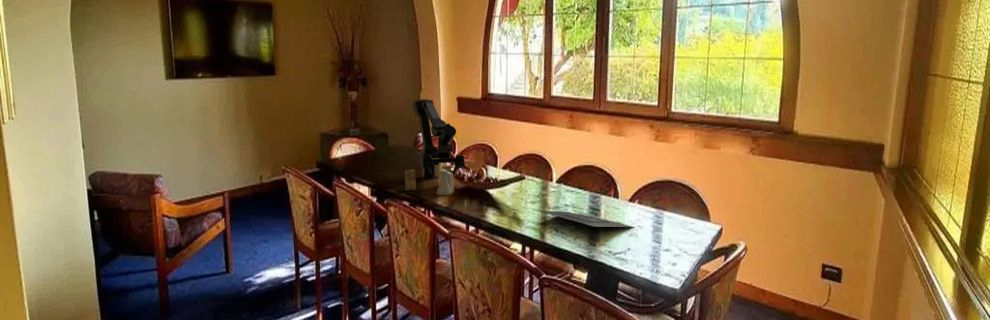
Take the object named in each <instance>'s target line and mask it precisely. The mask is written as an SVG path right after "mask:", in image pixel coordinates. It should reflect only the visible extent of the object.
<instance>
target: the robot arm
mask: <svg viewBox="0 0 990 320" xmlns="http://www.w3.org/2000/svg"><path fill="white" fill-rule="evenodd" d="M412 109H413V111H414V115H415V116H416V117H418V120H419V126H420V133H421V139H422V146H423V147H422V150H421V153H420V154H421V155H420V158H419V159H418V163H419V166H420V167H423V169H422V170H423V175H421V176H420V177H422V178H423V179H425V180H429V179H436V178H439V177H438V176H437V175H436V166H439V165H440V164H448V163H449V164H453V163H454V168H453V177H454V178H455V177H456V175H457V172H458V171H459V169H461V168H462V167H464V166H465V164H466V163H465V155H464V154H456V155H455V157H454V158H453V157H451V153H453V152H454V145H453V143H451V142H452V141H453V139H454V138H455V136H456V134H457V128H455V127H454V126H453V125H451V124H450V123H447V122H446V121H445V120H443V119H441V118H440V116H439V113H438V110H437V109H436V107H435V105H434V100H432V99H427V98H426V99H425V98H424V99H421V98H420V99H415V100H414V101H413V102H412ZM433 137H435V138H436V137H438V139H437V146H435V145H434V143H433V142H434V141H433Z"/></svg>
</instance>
